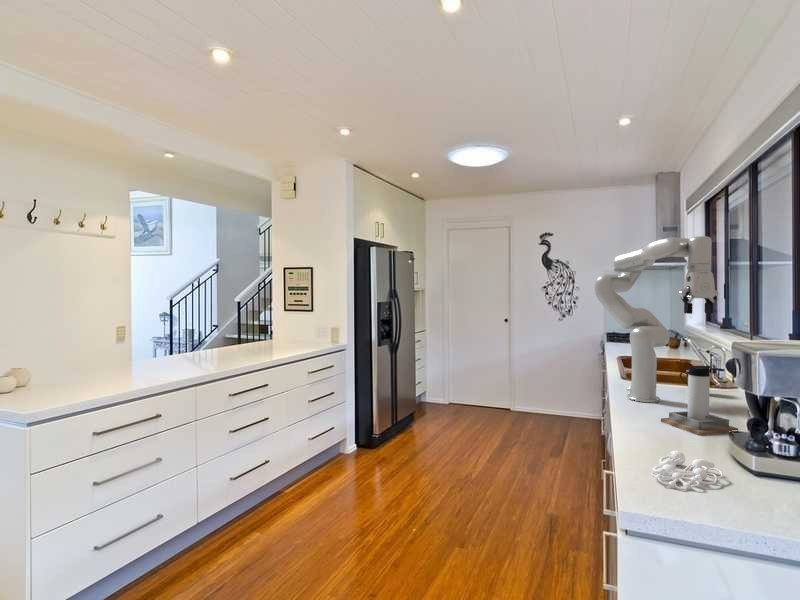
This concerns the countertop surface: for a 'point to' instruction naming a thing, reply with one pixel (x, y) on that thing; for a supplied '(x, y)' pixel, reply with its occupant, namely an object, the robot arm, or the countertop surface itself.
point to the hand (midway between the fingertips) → (698, 313)
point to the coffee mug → (686, 374)
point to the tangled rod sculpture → (684, 471)
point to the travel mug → (698, 392)
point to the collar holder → (698, 423)
